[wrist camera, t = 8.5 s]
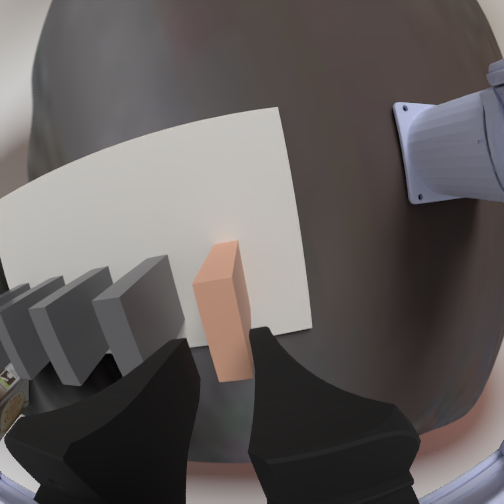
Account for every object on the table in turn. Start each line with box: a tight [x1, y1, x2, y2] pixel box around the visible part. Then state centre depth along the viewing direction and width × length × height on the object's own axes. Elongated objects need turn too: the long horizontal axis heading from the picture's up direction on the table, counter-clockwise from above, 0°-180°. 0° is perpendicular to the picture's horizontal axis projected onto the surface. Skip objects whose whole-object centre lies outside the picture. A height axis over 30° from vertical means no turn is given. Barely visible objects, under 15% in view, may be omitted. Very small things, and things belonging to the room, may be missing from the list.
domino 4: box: [92, 254, 185, 377], centre depth 15 cm, size 2×5×8 cm, turn 10°
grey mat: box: [0, 107, 312, 353], centre depth 19 cm, size 28×16×1 cm, turn 100°
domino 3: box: [28, 266, 113, 386], centre depth 15 cm, size 2×5×8 cm, turn 11°
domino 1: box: [0, 283, 31, 372], centre depth 15 cm, size 2×5×8 cm, turn 10°
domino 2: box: [0, 275, 65, 380], centre depth 15 cm, size 2×5×8 cm, turn 10°
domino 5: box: [192, 240, 254, 382], centre depth 15 cm, size 2×5×8 cm, turn 10°
